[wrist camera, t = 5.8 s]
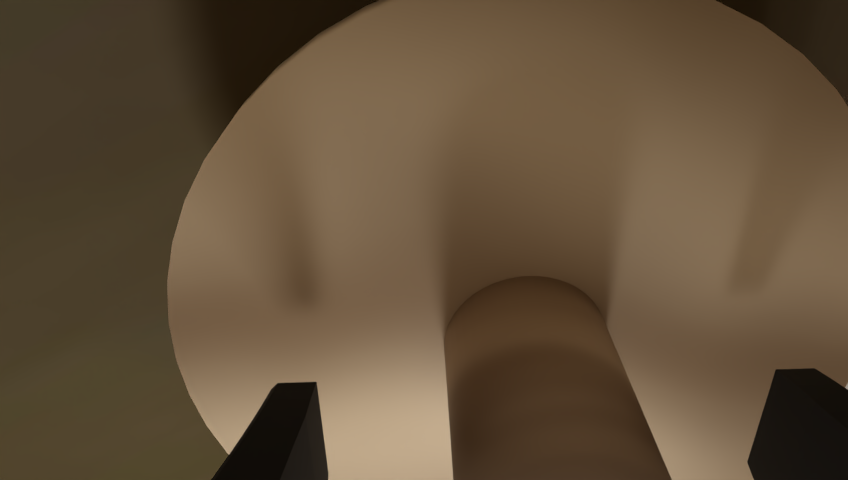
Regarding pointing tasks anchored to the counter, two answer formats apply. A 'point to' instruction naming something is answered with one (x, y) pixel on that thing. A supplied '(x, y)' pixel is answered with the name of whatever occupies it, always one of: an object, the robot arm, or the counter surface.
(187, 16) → the counter surface
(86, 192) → the counter surface
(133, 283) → the counter surface
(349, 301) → the lid
